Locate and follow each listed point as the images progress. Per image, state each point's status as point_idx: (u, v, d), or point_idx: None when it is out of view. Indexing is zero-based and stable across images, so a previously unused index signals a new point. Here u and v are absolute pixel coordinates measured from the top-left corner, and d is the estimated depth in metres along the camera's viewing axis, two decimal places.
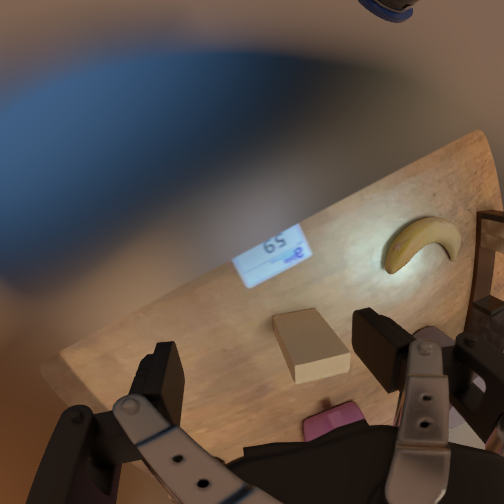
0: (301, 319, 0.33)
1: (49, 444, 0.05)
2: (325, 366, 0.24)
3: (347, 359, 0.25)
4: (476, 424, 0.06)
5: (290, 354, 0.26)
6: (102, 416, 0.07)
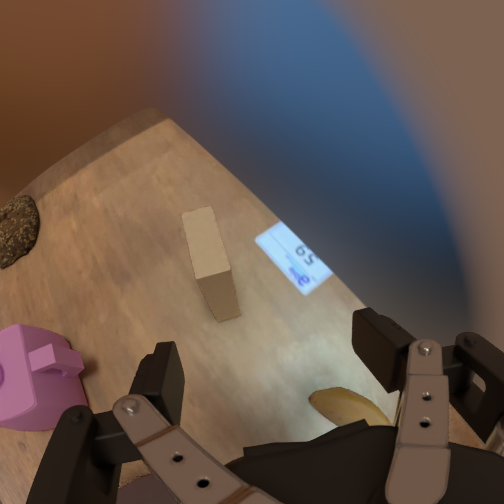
0: None
1: (49, 444, 0.05)
2: (207, 241, 0.20)
3: (218, 268, 0.19)
4: (476, 424, 0.06)
5: None
6: (102, 417, 0.07)
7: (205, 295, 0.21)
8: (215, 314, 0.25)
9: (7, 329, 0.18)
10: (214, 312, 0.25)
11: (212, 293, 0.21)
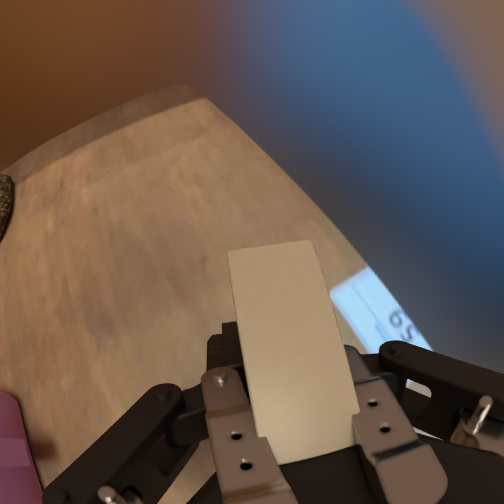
0: None
1: (123, 416, 0.06)
2: (304, 350, 0.06)
3: (333, 439, 0.05)
4: (428, 427, 0.06)
5: None
6: (185, 393, 0.08)
7: None
8: None
9: None
10: None
11: None
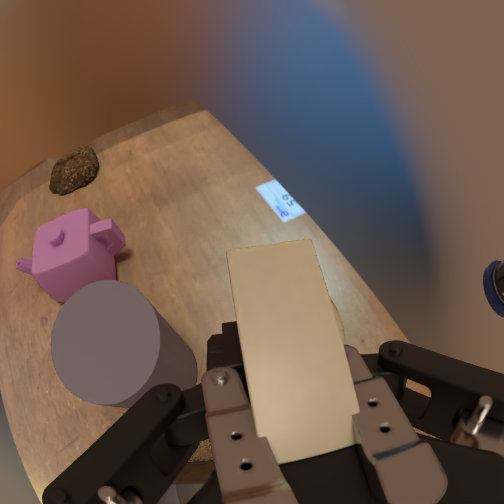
0: None
1: (123, 416, 0.06)
2: (304, 349, 0.06)
3: (333, 438, 0.05)
4: (428, 427, 0.06)
5: None
6: (185, 393, 0.08)
7: None
8: None
9: (76, 211, 0.34)
10: None
11: None
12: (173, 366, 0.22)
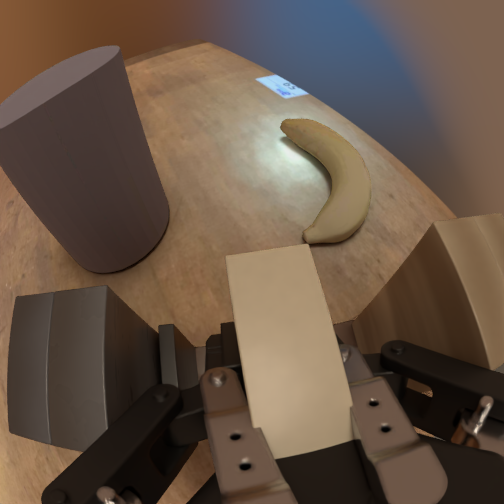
0: None
1: (122, 416, 0.06)
2: (300, 353, 0.06)
3: (328, 439, 0.05)
4: (429, 426, 0.06)
5: None
6: (183, 394, 0.08)
7: None
8: None
9: None
10: None
11: None
12: (125, 126, 0.14)
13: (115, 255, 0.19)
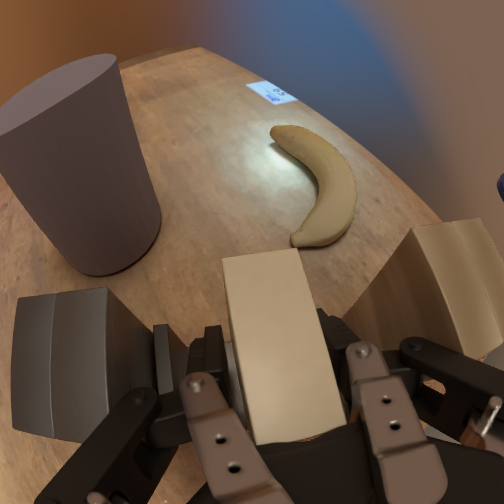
0: None
1: (103, 421, 0.06)
2: (291, 346, 0.07)
3: (317, 423, 0.06)
4: (441, 424, 0.06)
5: None
6: (163, 397, 0.08)
7: None
8: None
9: None
10: None
11: None
12: (120, 134, 0.15)
13: (109, 258, 0.20)
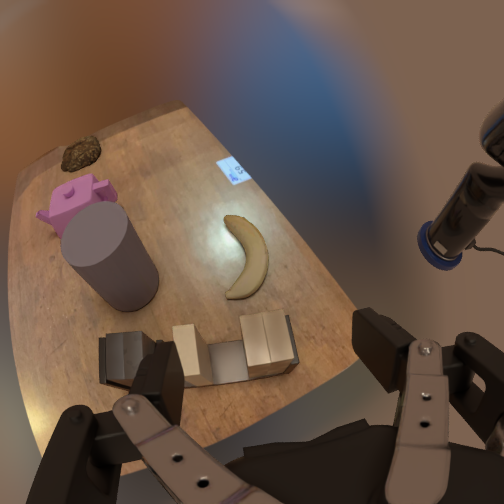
0: (208, 364, 0.35)
1: (49, 444, 0.05)
2: (187, 351, 0.28)
3: (192, 372, 0.26)
4: (476, 424, 0.06)
5: (196, 329, 0.31)
6: (102, 416, 0.07)
7: (185, 380, 0.29)
8: (194, 384, 0.33)
9: (83, 176, 0.47)
10: (193, 383, 0.33)
11: (190, 379, 0.29)
12: (135, 255, 0.35)
13: (133, 304, 0.40)
